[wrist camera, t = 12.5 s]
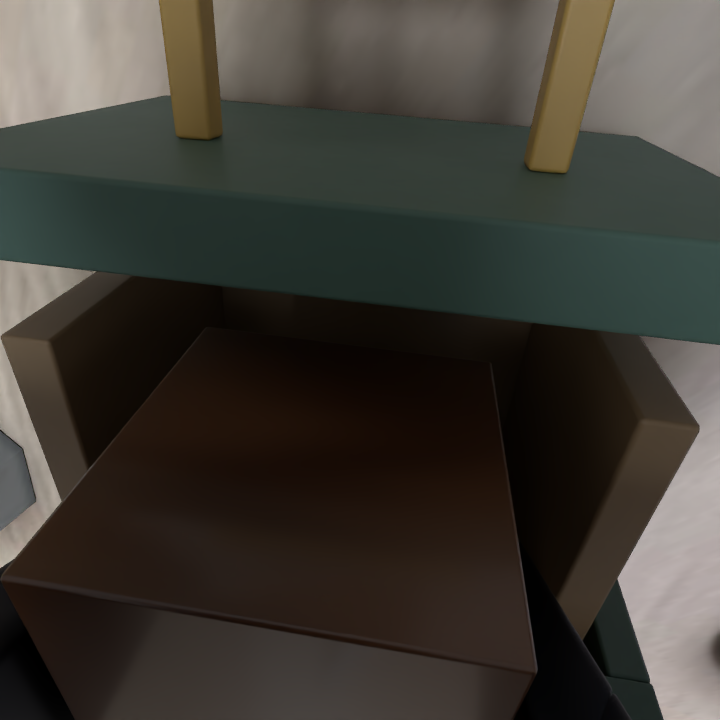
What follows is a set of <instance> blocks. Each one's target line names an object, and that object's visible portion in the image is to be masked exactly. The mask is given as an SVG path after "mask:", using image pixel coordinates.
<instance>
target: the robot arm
mask: <svg viewBox="0 0 720 720" xmlns="http://www.w3.org/2000/svg"><path fill="white" fill-rule="evenodd" d="M518 542H519V548H520V555H521V562H522V568H523V575H524V582H525V588H526V595H527V602H528V608H529V615H530V622H531V628H532V635H533V641H534V648H535V655H536V661H537V668H538V671H537V674H536V676H535V678H534V680H533V682H532V684H531V686H530V688H529V690H528V692H527V694H526V696H525V698H524V700H523V702H522V704H521V706H520V708H519V710H518V712H517V714H516V716H515V718H514V720H632V719H631V718H630V716H629V715H628V713H627V711H626V710H625V708H624V706H623V705H622V703H621V702H620V700H619V698H618V697H617V695H616V694H614V693H612V688H611V686H610V684H609V683H608V681H607V679H606V678H605V676H604V675H603V673H602V671H601V670H600V668H599V667H598V665H597V663H596V662H595V660H594V659H593V657H592V655H591V654H590V652H589V651H588V649H587V647H586V646H585V644H584V643H583V641H582V639H581V638H580V636H579V635H578V633H577V631H576V630H575V628H574V627H573V625H572V623H571V622H570V620H569V619H568V617H567V615H566V614H565V612H564V611H563V609H562V607H561V606H560V604H559V603H558V601H557V599H556V598H555V596H554V595H553V593H552V591H551V590H550V588H549V587H548V585H547V583H546V582H545V580H544V579H543V577H542V575H541V574H540V572H539V571H538V569H537V567H536V566H535V564H534V563H533V561H532V559H531V558H530V556H529V555H528V553H527V551H526V550H525V548H524V547H523V545H522V543H521V542H520V540H519V539H518ZM13 560H14V559H13ZM13 560H12V561H10V562H9V563H7V564H6V565H4V566H3V567H1V568H0V579H1V576H2V574H3V572H4V571H5V570H6V569H7V568H8V566H9V565H10V564H11V563H12V562H13ZM611 693H612V694H611ZM0 720H75V719H74V717H73V715H72V713H71V712H70V710H69V708H68V706H67V704H66V702H65V700H64V699H63V697H62V695H61V693H60V691H59V689H58V687H57V685H56V684H55V682H54V680H53V678H52V676H51V674H50V672H49V671H48V669H47V667H46V665H45V663H44V661H43V659H42V657H41V656H40V654H39V652H38V650H37V648H36V646H35V644H34V643H33V641H32V639H31V637H30V635H29V633H28V631H27V630H26V628H25V626H24V624H23V622H22V620H21V618H20V616H19V615H18V613H17V611H16V609H15V607H14V605H13V603H12V602H11V600H10V598H9V596H8V594H7V592H6V590H5V588H4V587H3V585H2V583H1V581H0Z"/></svg>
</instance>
